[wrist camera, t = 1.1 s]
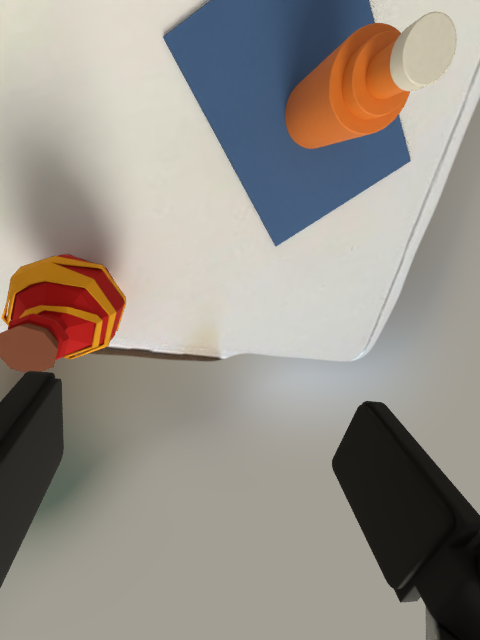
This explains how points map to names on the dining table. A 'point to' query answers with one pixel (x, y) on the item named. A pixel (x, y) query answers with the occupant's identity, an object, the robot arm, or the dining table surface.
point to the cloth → (279, 103)
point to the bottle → (368, 80)
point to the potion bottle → (59, 312)
